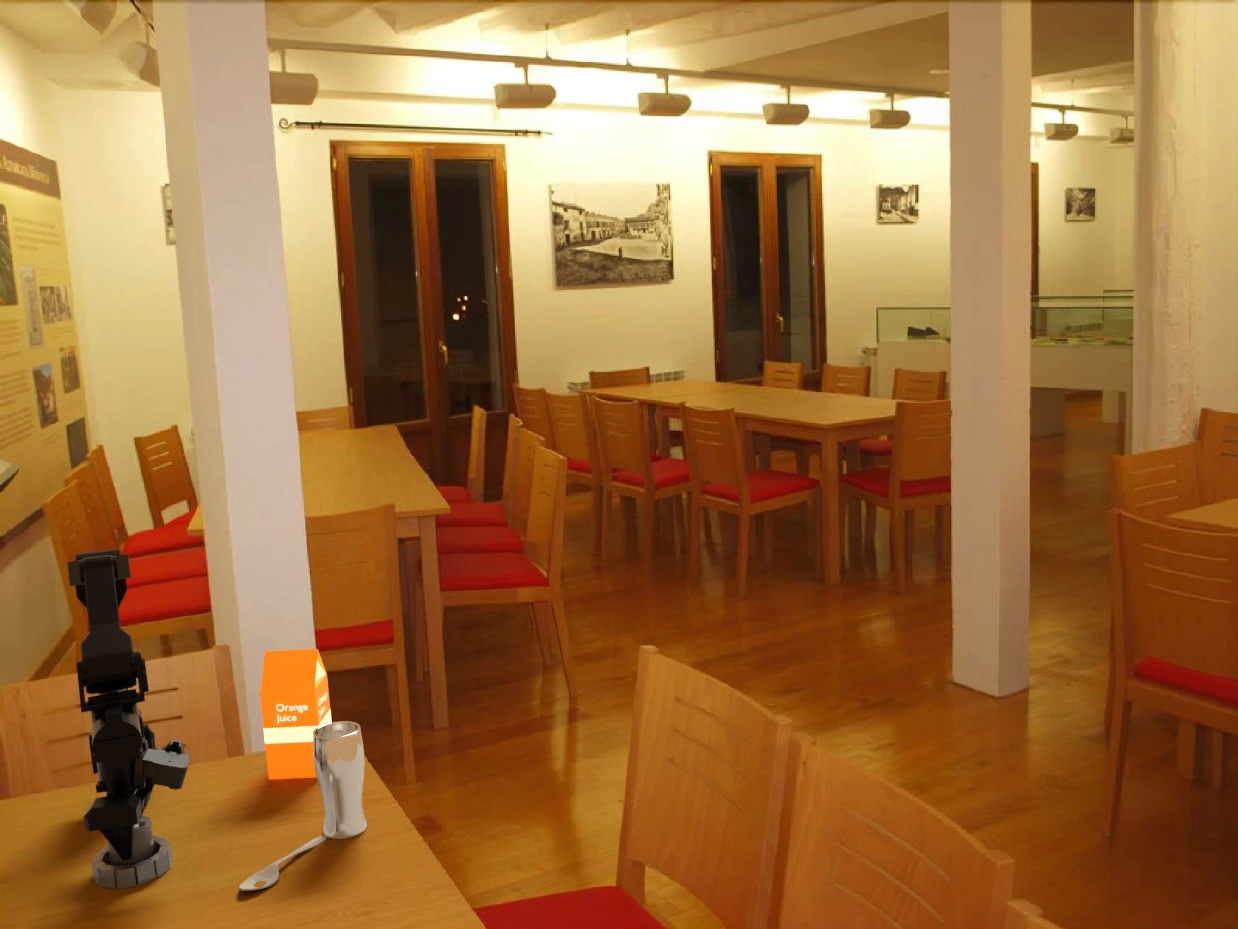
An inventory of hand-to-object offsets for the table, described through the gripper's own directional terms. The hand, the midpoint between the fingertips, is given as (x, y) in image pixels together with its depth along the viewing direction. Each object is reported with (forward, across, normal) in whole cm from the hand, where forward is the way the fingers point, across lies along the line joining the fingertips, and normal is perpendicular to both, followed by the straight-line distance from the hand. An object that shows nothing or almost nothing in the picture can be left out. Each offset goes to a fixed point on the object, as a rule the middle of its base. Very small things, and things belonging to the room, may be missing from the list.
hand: (131, 849), depth 156 cm
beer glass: (+3, +3, -28) cm, 28 cm away
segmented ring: (+3, 0, 0) cm, 3 cm away
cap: (+1, 0, 0) cm, 1 cm away
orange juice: (+3, +28, -21) cm, 35 cm away
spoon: (+4, -4, -21) cm, 22 cm away
